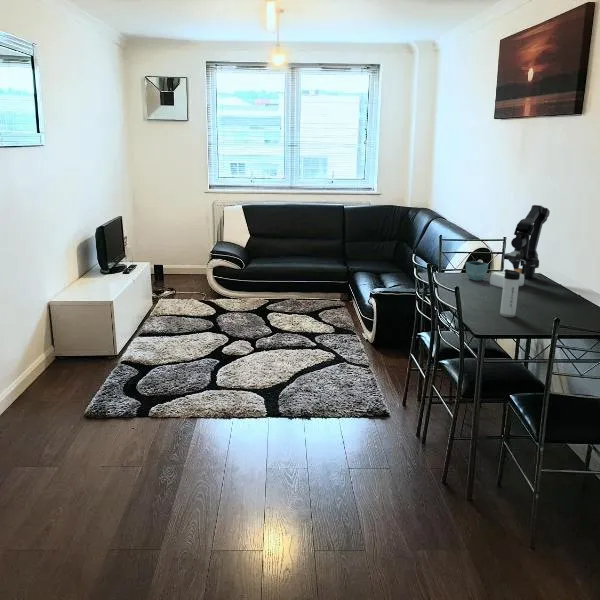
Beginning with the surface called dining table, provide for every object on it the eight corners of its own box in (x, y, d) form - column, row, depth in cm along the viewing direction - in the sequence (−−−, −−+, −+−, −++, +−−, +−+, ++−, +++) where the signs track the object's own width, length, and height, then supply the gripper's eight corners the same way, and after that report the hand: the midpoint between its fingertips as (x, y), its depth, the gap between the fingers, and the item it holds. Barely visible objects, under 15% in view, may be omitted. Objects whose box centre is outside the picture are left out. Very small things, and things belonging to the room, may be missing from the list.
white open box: (508, 281, 328) (509, 272, 327) (523, 285, 320) (524, 276, 319) (489, 284, 321) (490, 274, 320) (504, 288, 313) (505, 279, 312)
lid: (514, 271, 329) (515, 266, 328) (529, 275, 321) (530, 270, 320) (491, 274, 320) (491, 270, 319) (505, 278, 312) (506, 274, 311)
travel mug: (502, 312, 272) (507, 268, 267) (517, 315, 268) (522, 270, 263) (496, 315, 268) (501, 270, 262) (511, 318, 263) (517, 273, 258)
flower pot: (463, 278, 333) (465, 262, 330) (476, 277, 336) (477, 261, 334) (474, 282, 325) (476, 265, 323) (487, 280, 329) (489, 264, 326)
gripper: (497, 244, 323) (494, 272, 327) (526, 250, 308) (523, 280, 312) (512, 242, 329) (509, 270, 333) (541, 248, 313) (537, 278, 318)
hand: (519, 275), depth 324 cm, fingers closed on lid, 4 cm apart
